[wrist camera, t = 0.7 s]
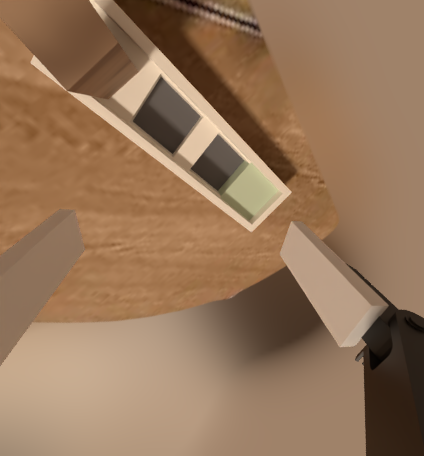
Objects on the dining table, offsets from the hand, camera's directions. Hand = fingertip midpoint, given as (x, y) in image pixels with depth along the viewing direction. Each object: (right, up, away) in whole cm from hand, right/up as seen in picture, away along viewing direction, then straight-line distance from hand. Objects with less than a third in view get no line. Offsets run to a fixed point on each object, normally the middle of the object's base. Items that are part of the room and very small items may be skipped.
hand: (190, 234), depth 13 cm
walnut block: (-11, +19, +10) cm, 24 cm away
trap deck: (-2, +14, +19) cm, 24 cm away
